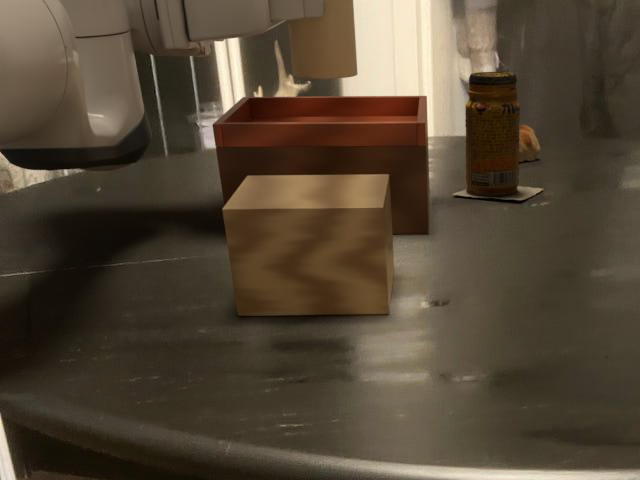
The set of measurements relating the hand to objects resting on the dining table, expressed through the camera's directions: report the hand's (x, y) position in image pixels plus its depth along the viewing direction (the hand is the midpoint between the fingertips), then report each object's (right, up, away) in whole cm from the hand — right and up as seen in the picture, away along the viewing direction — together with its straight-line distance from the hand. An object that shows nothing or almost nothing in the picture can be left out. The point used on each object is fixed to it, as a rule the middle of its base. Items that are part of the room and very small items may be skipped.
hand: (328, 3), depth 94 cm
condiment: (+17, -10, +19) cm, 27 cm away
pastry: (+18, +2, +35) cm, 40 cm away
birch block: (+1, -32, -11) cm, 34 cm away
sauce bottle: (-1, -5, +4) cm, 6 cm away
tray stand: (-1, -15, +11) cm, 19 cm away
